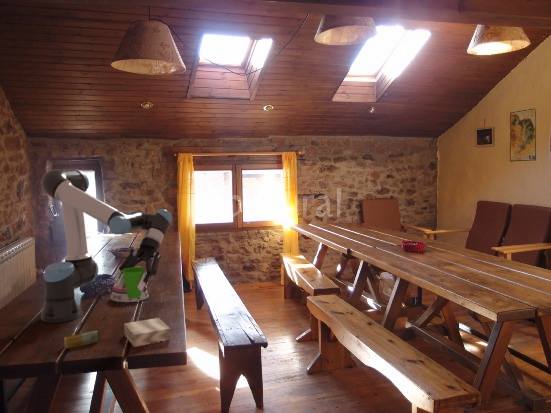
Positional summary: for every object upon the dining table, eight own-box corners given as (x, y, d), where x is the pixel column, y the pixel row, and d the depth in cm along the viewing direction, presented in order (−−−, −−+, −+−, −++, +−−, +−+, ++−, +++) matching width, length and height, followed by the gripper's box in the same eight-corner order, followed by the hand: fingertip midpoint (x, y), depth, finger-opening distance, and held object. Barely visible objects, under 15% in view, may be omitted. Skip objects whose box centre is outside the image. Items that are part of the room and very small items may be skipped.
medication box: (97, 339, 180) (97, 329, 180) (99, 342, 178) (99, 331, 178) (64, 347, 173) (63, 336, 172) (66, 349, 171) (65, 338, 170)
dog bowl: (116, 292, 243) (116, 280, 243) (152, 293, 244) (152, 280, 243) (105, 303, 225) (105, 289, 224) (144, 303, 226) (144, 290, 225)
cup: (150, 295, 188) (150, 268, 187) (133, 301, 181) (132, 273, 180) (135, 292, 193) (134, 266, 192) (117, 297, 185) (116, 270, 184)
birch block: (133, 347, 173) (133, 335, 173) (124, 335, 185) (124, 323, 185) (170, 340, 181) (170, 328, 180) (158, 329, 193) (158, 317, 192)
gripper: (177, 248, 196) (156, 295, 182) (134, 245, 203) (111, 290, 190) (170, 237, 190) (148, 285, 177) (126, 234, 198) (101, 280, 184)
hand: (129, 288), depth 183 cm, fingers closed on cup, 9 cm apart
